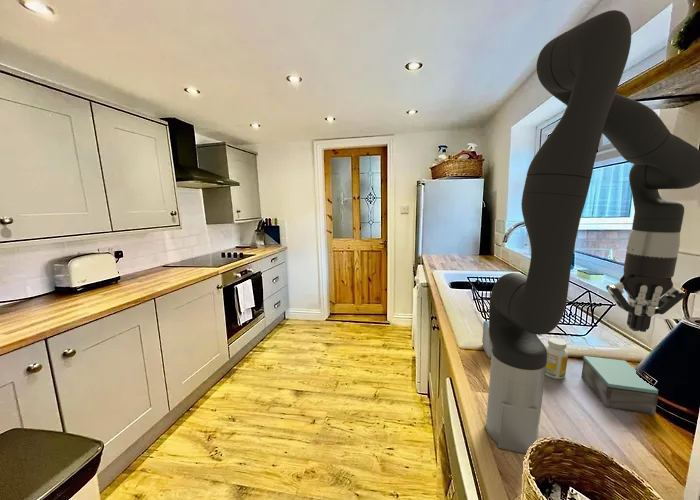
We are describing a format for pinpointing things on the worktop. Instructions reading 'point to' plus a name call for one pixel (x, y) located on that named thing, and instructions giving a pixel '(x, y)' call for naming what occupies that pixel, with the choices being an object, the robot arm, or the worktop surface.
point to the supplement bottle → (556, 358)
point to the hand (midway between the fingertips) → (637, 329)
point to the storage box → (619, 395)
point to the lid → (619, 374)
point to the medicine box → (487, 339)
